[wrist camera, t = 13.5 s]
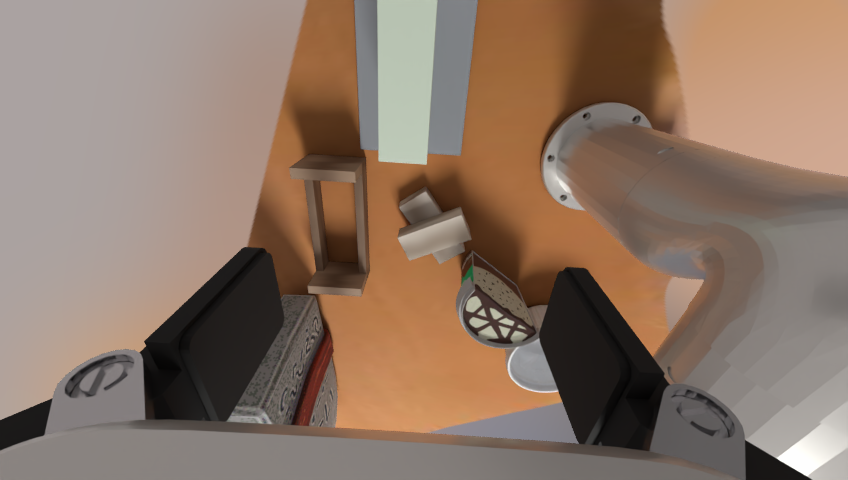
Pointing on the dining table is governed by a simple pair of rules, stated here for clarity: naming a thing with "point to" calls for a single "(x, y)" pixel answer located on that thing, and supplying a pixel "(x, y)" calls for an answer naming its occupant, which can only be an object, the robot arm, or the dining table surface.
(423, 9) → the sheet
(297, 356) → the decorative stone tablet
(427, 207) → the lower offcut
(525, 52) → the dining table surface
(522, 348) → the ramekin
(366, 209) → the rack
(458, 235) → the upper offcut
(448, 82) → the mat
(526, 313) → the food container
